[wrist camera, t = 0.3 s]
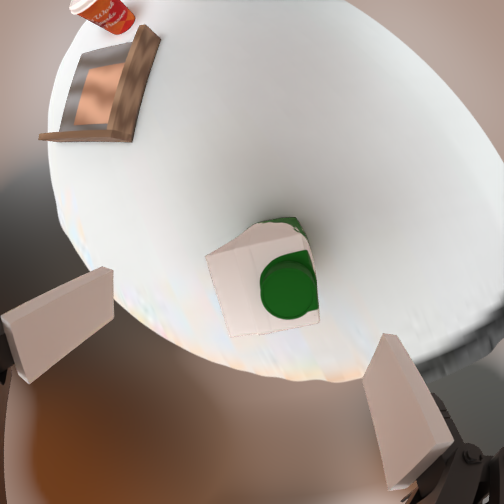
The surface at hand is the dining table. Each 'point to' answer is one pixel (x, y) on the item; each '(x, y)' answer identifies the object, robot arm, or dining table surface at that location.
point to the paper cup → (104, 14)
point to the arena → (107, 92)
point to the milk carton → (266, 279)
